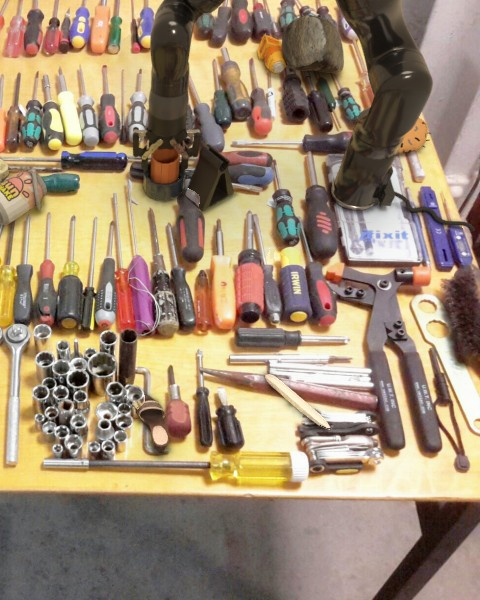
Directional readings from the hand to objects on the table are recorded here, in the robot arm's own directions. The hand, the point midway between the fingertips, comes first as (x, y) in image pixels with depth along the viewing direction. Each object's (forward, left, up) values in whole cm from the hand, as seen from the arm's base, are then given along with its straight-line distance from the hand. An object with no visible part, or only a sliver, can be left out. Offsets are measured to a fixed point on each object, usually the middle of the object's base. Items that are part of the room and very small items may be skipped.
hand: (164, 168), depth 135 cm
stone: (-33, -37, +4) cm, 49 cm away
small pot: (0, 0, -5) cm, 5 cm away
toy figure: (-29, -38, -2) cm, 48 cm away
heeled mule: (+2, +57, -6) cm, 57 cm away
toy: (-54, -15, -6) cm, 56 cm away
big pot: (0, 0, -6) cm, 6 cm away
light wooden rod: (-23, +52, -6) cm, 57 cm away
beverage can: (+36, +12, -2) cm, 38 cm away
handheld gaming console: (+38, 0, -4) cm, 38 cm away
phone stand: (-10, +2, -6) cm, 12 cm away
